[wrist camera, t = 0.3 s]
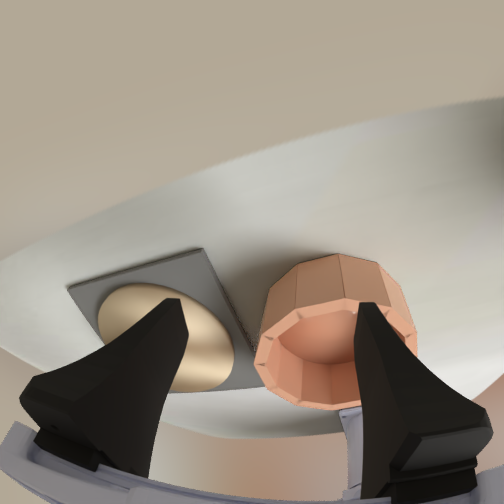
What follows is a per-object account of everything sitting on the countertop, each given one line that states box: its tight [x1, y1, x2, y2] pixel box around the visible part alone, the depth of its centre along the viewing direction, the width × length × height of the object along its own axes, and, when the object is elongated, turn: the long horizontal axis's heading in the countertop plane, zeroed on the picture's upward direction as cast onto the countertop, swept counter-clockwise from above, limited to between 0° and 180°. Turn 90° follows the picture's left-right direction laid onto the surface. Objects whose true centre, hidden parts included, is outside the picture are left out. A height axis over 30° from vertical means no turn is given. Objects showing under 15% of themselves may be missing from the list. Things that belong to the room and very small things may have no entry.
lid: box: [98, 283, 235, 392], centre depth 26 cm, size 13×13×5 cm
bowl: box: [254, 254, 417, 410], centre depth 22 cm, size 11×11×5 cm
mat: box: [67, 249, 266, 393], centre depth 28 cm, size 15×15×1 cm
